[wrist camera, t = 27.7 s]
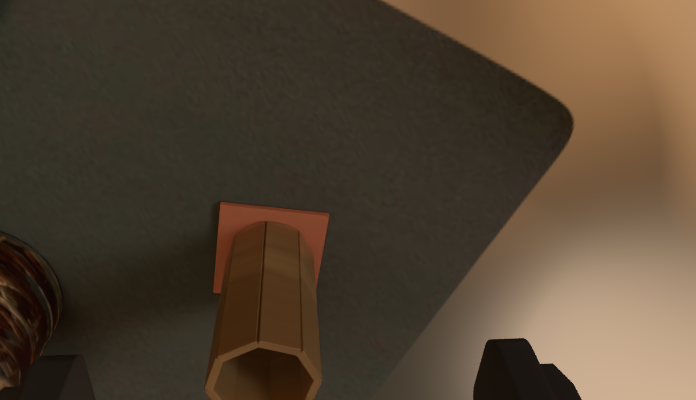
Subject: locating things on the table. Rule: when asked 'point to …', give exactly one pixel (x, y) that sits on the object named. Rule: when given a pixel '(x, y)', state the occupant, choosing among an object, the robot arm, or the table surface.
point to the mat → (245, 215)
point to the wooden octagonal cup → (266, 319)
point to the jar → (24, 308)
